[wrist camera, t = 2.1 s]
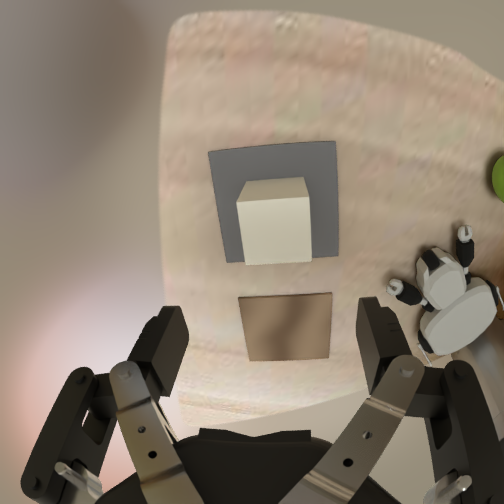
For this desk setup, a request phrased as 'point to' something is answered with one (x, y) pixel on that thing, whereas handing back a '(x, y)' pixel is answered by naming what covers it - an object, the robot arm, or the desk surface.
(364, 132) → the desk surface
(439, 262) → the robot toy
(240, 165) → the mat
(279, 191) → the white block
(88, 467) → the robot arm
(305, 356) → the walnut board
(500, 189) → the snail figurine
